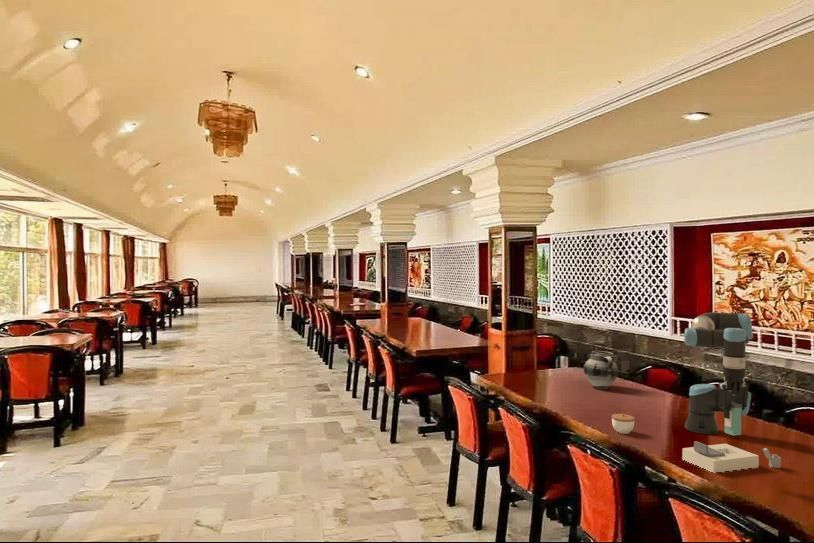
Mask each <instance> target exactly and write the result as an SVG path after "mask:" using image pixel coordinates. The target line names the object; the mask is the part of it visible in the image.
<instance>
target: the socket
mask: <svg viewBox="0 0 814 543" xmlns="http://www.w3.org/2000/svg"><path fill="white" fill-rule="evenodd" d="M707 445H708V444H707ZM708 447H710V448H712V449H715V450H718V451H720V452H723V453H725V455H723V456H715V457H709V456H706V455H704V454H701V453H699V452H696V451H694V446H690V447H683V448H682V454H681V455H682V456H681V458H682V461H684V460H685V461H684V462H686V461H687V462H686V463H688V462H689V464H691V463H692V464H691V465H693V464H694V465H693V466H695V465H697V466H699V467H698V468H700V467H701V468H700V469H702V468H704V469H706V470H705V471H707V470H708V471H707V472H709V471H710V472H709V473H711V472H713V473H714V474H717V473H716V472H722V473H726V472H725V471H729V472H734V471H733V470H737V471H742V470H741V469H745V470H749V469H748V468H752V469H759V462H760V461H759V460H760V459H759V457H760V456H759V455H758V454H755V453H752V452H749V451H747V450H744V449H742V448H738V447H737V446H733V445H730V444H728V443H719V444H711V445H710V444H709V445H708ZM697 466H696V467H697ZM704 469H703V470H704ZM713 473H712V474H713Z"/></svg>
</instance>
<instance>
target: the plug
mask: <svg viewBox="0 0 814 543" xmlns="http://www.w3.org/2000/svg"><path fill="white" fill-rule="evenodd" d="M731 411H732V427H728V426H725V425H724V433H725V434H728V435H731V436H733V437H734V436H741V435H742V417H743V415H742V404H738V403H734V402H732V405H731ZM741 416H742V417H741Z"/></svg>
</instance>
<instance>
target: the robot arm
mask: <svg viewBox="0 0 814 543" xmlns="http://www.w3.org/2000/svg"><path fill="white" fill-rule="evenodd" d="M752 324H753V323H752V318H751V316H750V315H749V314H746V313H740V312H737V313H736V312H716V311H715V312H705V313H703V314H699V315H698V316H696V317H695V318H694V319H693V320H692V323H691V327H686V328H685V329H684V338H683V339H684V345H685V346H691V347H699V348H701V347H702V348H705V347H707V348H715V349H716V348H717V349H723V355H722V357H723V359H722V365H723V367H722V376H723V382H722V383H718V385H717V386H718V388H717V387H716V385H715V384H711V383H700V384H699V383H698V384H694V385H691V386H690V387H689V393H688V396H689V397H688V398H689V399H688V400H689V403H688V404H689V405H688V415H687V418H686V421H685V423H684V428H686V429H685V430H687V431H688V432H689V431H690V432H692V433H696V434H702V435H716V434H717V435H718V434H719V430H720V429H719V425H718V423H717V418H716V413H723V418H724V427H725V426H728V427H732V411H731V405H732V402H734V403H738V404H742V416H741V418H743V416H747V414H748V413H749V411H750V406H751V400H752V393H751V392H750V391H748V390H749V386H750V384H749V382H745V378H746V368H745V367H746V347H747V346H746V345H747V344H749V343H750V340H753V338H754V333H753V325H752Z"/></svg>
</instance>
